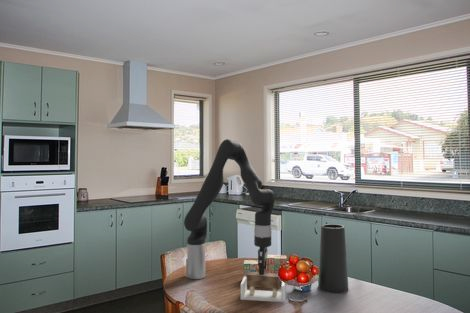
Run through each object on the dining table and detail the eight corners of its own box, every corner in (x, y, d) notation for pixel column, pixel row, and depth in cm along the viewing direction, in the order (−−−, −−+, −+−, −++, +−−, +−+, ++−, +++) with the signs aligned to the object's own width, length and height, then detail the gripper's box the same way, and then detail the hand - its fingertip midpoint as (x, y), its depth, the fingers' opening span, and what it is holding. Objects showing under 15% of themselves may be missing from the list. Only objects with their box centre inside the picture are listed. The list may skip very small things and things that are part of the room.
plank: (246, 285, 166) (246, 274, 166) (249, 282, 171) (249, 271, 171) (278, 288, 162) (278, 277, 162) (280, 285, 167) (279, 274, 167)
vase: (353, 287, 177) (353, 225, 177) (339, 295, 167) (339, 230, 167) (327, 281, 186) (326, 222, 186) (312, 288, 176) (312, 226, 176)
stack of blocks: (243, 282, 186) (243, 257, 186) (244, 278, 192) (244, 254, 192) (287, 283, 184) (287, 258, 184) (286, 279, 190) (286, 254, 190)
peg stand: (240, 299, 163) (240, 283, 163) (244, 291, 173) (243, 276, 173) (284, 302, 160) (284, 286, 160) (285, 293, 170) (285, 278, 170)
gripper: (256, 231, 174) (256, 266, 174) (252, 237, 160) (252, 276, 160) (272, 231, 173) (272, 267, 173) (269, 238, 159) (269, 277, 159)
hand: (262, 271), depth 166 cm, fingers open, 8 cm apart
